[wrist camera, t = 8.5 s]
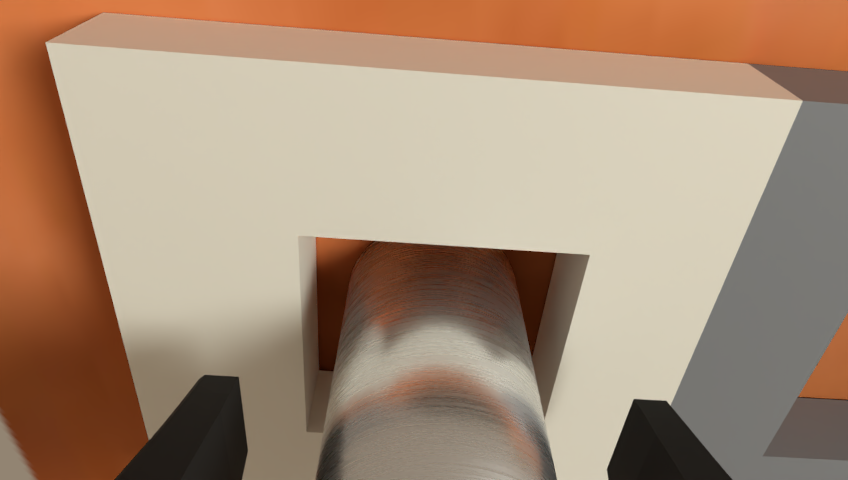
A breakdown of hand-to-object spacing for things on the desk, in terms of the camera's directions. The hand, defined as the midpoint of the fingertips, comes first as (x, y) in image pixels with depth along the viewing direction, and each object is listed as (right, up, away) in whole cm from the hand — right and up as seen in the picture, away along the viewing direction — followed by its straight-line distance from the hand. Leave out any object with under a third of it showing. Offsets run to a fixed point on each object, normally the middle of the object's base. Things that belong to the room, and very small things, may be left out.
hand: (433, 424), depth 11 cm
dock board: (+5, +2, +3) cm, 7 cm away
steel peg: (0, +2, +3) cm, 4 cm away
